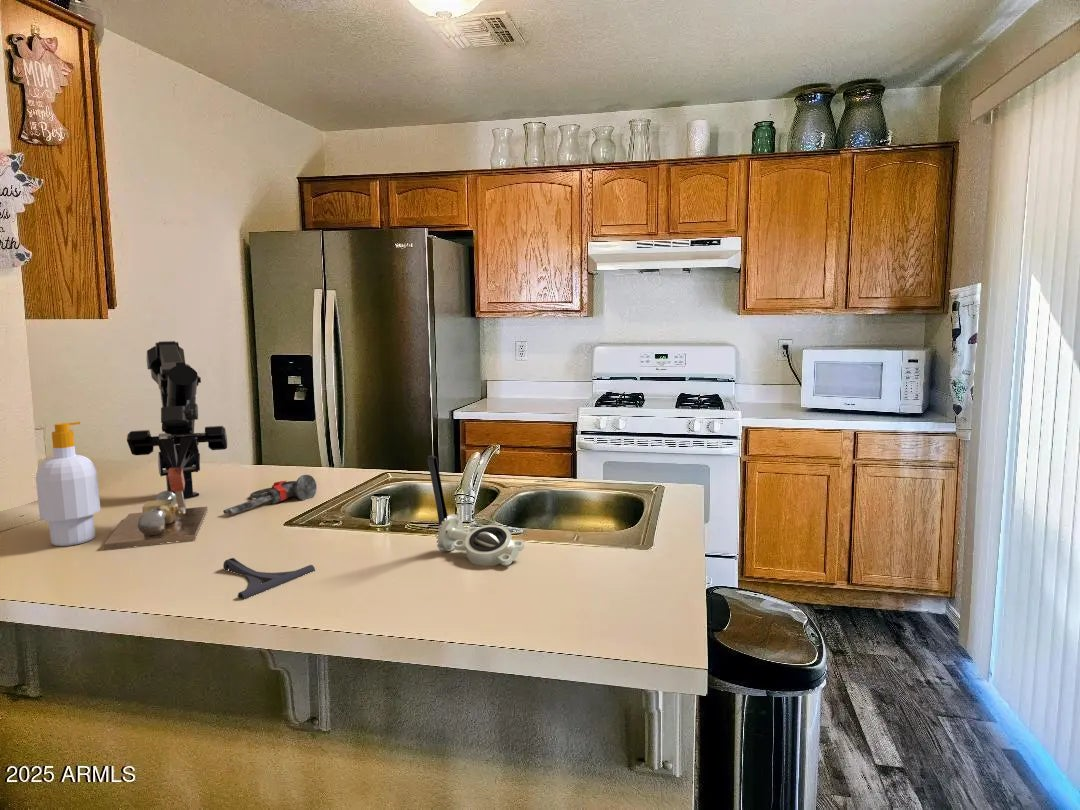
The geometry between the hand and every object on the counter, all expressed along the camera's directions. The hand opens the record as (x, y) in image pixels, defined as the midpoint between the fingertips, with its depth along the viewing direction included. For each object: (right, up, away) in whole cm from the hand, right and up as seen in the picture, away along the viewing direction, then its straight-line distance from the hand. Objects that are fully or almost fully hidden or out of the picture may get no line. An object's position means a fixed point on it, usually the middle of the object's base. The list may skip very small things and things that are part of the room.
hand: (176, 473), depth 144 cm
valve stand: (-5, -12, +3) cm, 14 cm away
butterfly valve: (+65, -15, -15) cm, 68 cm away
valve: (+9, -10, +24) cm, 28 cm away
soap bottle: (-19, -14, -4) cm, 24 cm away
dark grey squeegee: (+26, -17, -24) cm, 39 cm away
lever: (-1, -9, +5) cm, 10 cm away
